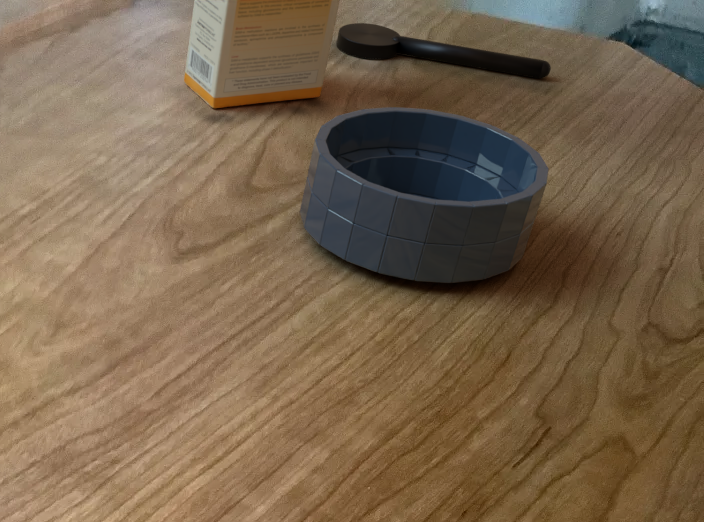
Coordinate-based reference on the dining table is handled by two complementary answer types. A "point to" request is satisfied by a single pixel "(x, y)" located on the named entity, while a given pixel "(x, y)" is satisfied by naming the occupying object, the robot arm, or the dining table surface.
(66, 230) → the dining table surface
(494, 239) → the bowl
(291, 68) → the supplement box
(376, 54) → the dark round paddle
